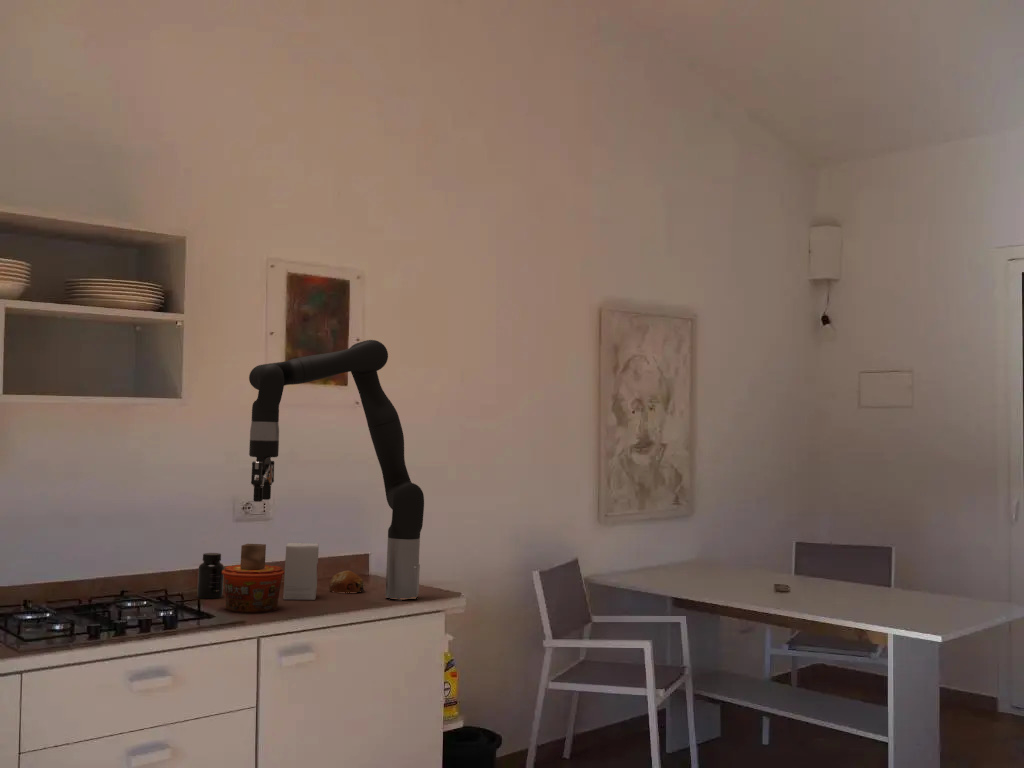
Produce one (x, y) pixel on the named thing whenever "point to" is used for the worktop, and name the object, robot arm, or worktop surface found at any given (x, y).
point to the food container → (252, 588)
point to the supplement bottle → (210, 577)
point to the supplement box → (301, 571)
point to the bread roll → (346, 582)
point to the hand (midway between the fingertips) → (262, 500)
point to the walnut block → (253, 556)
